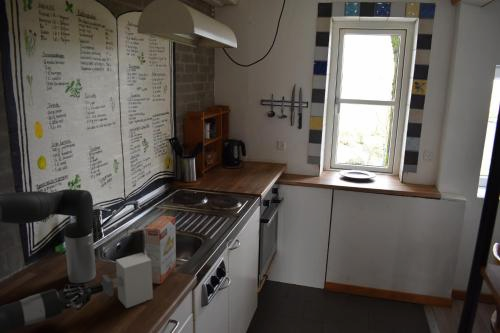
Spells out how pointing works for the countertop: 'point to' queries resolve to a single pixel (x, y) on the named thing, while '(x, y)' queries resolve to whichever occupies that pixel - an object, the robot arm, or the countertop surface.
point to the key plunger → (110, 284)
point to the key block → (134, 279)
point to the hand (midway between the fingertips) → (102, 287)
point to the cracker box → (161, 247)
